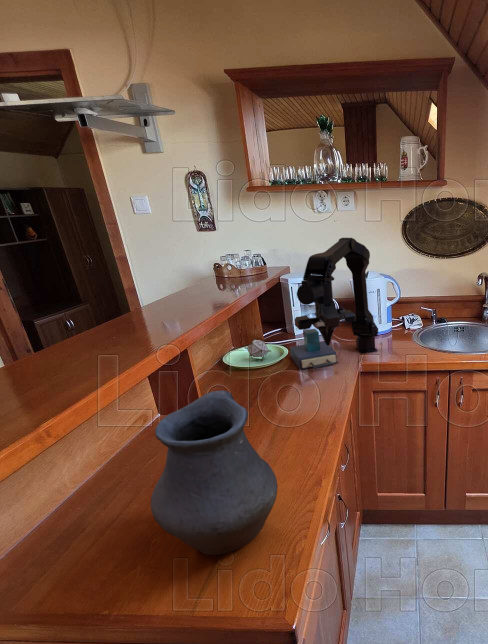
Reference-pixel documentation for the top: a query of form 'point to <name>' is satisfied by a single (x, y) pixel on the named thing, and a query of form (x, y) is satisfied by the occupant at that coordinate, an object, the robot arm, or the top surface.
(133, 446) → the top surface
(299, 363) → the cabinet
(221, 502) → the dark grey clay pot
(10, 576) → the top surface
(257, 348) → the game die
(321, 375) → the top surface
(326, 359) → the drawer
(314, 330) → the block
